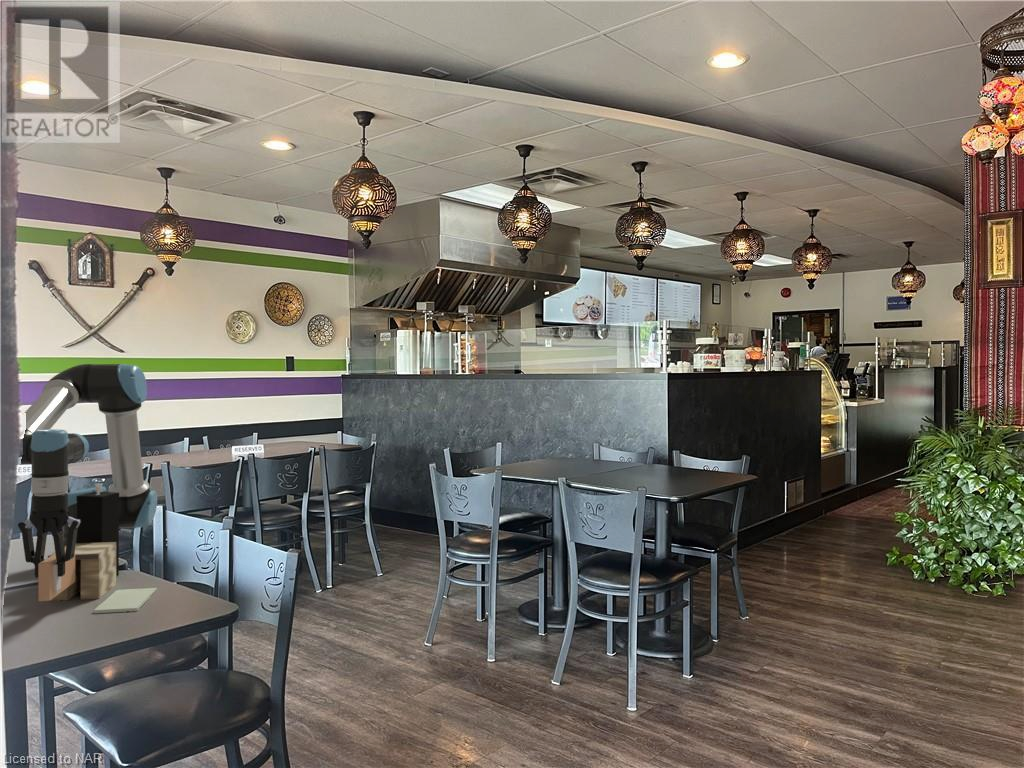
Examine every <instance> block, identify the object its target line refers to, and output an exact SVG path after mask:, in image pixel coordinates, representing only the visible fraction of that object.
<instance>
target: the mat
mask: <svg viewBox="0 0 1024 768" xmlns="http://www.w3.org/2000/svg"><path fill="white" fill-rule="evenodd" d="M156 590H157V591H158V587H149V588H146V587H145V588H129V589H125V588H124V589H116V590H115V591H114V592H113V593H112V594H111V595H109V596H108V597H107V598H106V599H105V600H104V601H103V602H102V603H100V604H99V605H98V606H97V607H96V608H94V609H93V614H106V613H110V614H111V613H127V611H129V612H138V611H139V610H140V609H141V608H142V607H143V606H144V605H145V604H146V603H147V602H146V601H147V600H148V599H149V600H150V599H151V597H152V596H153V595H154V594H155V593H156V592H157V591H156ZM155 591H156V592H155ZM154 592H155V593H154ZM153 593H154V594H153ZM152 594H153V595H152ZM151 595H152V596H151ZM150 596H151V597H150ZM149 600H148V601H149ZM145 602H146V603H145ZM144 603H145V604H144ZM143 604H144V605H143ZM142 605H143V606H142ZM141 606H142V607H141ZM140 607H141V608H140ZM139 608H140V609H139ZM138 609H139V610H138ZM137 610H138V611H137Z"/></svg>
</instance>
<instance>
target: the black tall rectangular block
mask: <svg viewBox="0 0 1024 768" xmlns="http://www.w3.org/2000/svg"><path fill="white" fill-rule="evenodd" d="M94 487H95V488H96V492H92V493H88V494H83V495H79V496H77V519H80V520H81V523H80V525H79V527H78V530H77V543H103V542H116V577H118V576H119V567H120V566H119V561H120V559H119V553H120V551H119V549H120V547H119V545H120V544H119V542H120V539H119V538H120V533H119V531H120V528H119V492H108V491H106V492H101V488H102V487H103V483H102V482H101V483H99V482H98V483H94Z"/></svg>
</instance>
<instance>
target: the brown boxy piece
mask: <svg viewBox="0 0 1024 768" xmlns="http://www.w3.org/2000/svg"><path fill="white" fill-rule="evenodd" d="M64 548H66V546H65V547H64ZM54 554H55V551H53V552H52V553H51V554H49V555H47V558H49V557H50V556H52V555H54ZM116 585H117V576H116V542H103V543H76V545H75V582H74V583H73V584H71V585H70V586H69V587H67V588H66V589H65V590H63V591H62V592H61V593H59V594H58V595H57V596H55V597H54V598H53V599H51V600H50V601H49V602H56V601H57V602H59V601H60V600H63V601H68V600H70V599H71V598H72V597H73V596H75V595H76V594H78V593H79V592H80V600H81V601H82V600H98V599H100V598H102V597H103V596H104V595H105V594H107V592H109V591H110V590H111V589H113V588H114V587H115V586H116ZM69 598H70V599H69ZM60 602H61V601H60Z"/></svg>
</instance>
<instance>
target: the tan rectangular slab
mask: <svg viewBox="0 0 1024 768" xmlns="http://www.w3.org/2000/svg"><path fill="white" fill-rule="evenodd" d="M65 553H66V548H65ZM44 559H45V560H44V561H42V562H41V563H39V564H38V581H37V582H38V584H37V585H38V587H37V588H38V591H37V592H38V602H51V601H50V600H51V599H53V598H54V597H55V596H57V595H58V594H59V593H61V592H62V591H63V590H65V589H66V588H67V587H69V586H70V585H71V584H73V583H74V582H75V553H74V557H73V558H72V559H70V560H69V561H66V562H65V575H63V576H61V588H60V589H59V590H58V591H53V565H54V564H55V563H56V562H57V561H56V554H54V555H52V556H50V557H49V558H48V557H47V558H44Z"/></svg>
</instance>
